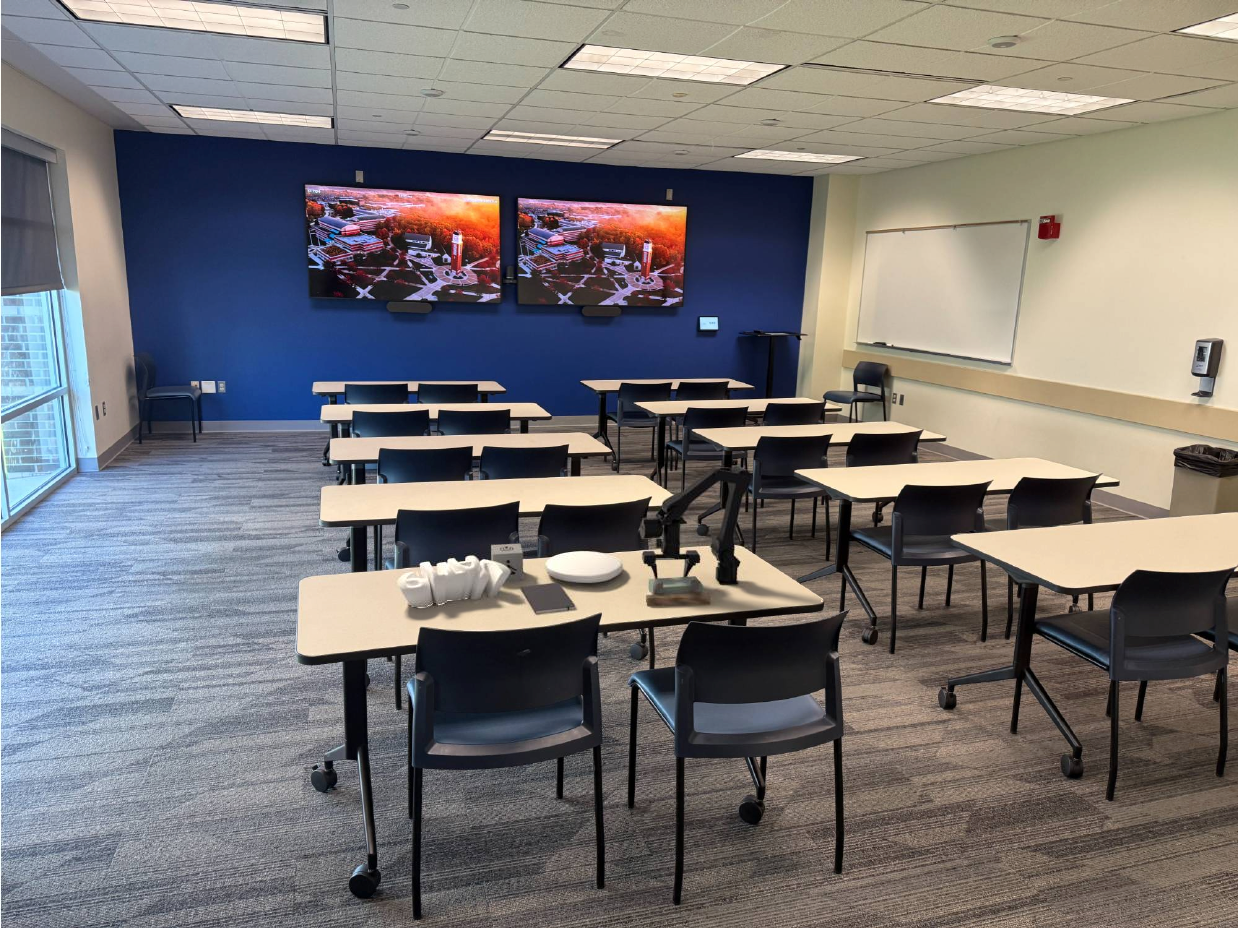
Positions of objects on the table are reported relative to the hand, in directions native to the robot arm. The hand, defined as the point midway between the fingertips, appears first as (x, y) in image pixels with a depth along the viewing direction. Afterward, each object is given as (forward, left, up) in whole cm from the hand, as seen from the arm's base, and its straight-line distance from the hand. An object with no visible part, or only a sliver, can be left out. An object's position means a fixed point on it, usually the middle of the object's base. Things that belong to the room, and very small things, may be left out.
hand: (670, 581), depth 270 cm
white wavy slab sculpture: (+71, +5, -2) cm, 71 cm away
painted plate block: (-1, +6, -2) cm, 6 cm away
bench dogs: (0, +14, -2) cm, 14 cm away
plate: (+28, -13, -2) cm, 31 cm away
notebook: (+41, +9, -2) cm, 42 cm away
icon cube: (+54, -12, -2) cm, 56 cm away
